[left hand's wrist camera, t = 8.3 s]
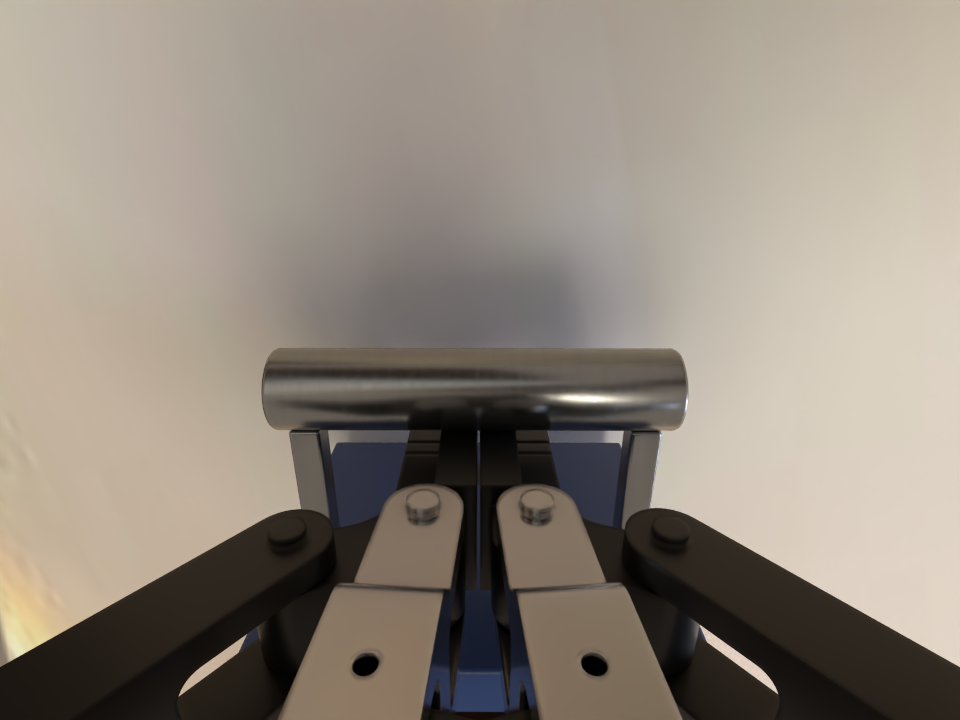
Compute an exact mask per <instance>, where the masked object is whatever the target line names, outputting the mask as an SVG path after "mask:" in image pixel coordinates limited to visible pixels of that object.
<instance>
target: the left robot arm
mask: <svg viewBox="0 0 960 720" xmlns="http://www.w3.org/2000/svg"><path fill="white" fill-rule="evenodd" d="M465 590H477V430H410V434H409V438H408V443H407V446H406V450H405V454H404V459H403V463H402V467H401V471H400V475H399V479H398V483H397V487H396V491H395V493H393V494H392V495H391V496H390V497H389V498H388V499H387V500H386V501H385V503H384V505H383V508H382V510H381V513H380V514H378V515H377V516H375V517H373V518H371V519H369V520H366V521H364V522H361V523H357V524H353V525H349V526H344V527H340V528H335V529H333V525H332V523H331V521H330V520H329V518H328V517H326V516H325V515H324V514H322V513H320V512H317V511H313V510H306V509H297V510H289V511H284V512H280V513H277V514H275V515H272V516H270V517H268V518H266V519H264V520H262V521H260V522H258V523H256V524H255V525H253V526H251V527H249V528H247V529H246V530H244V531H242V532H240V533H239V534H237V535H235V536H233V537H231V538H230V539H228V540H226V541H224V542H223V543H221V544H219V545H217V546H215V547H214V548H212V549H210V550H208V551H207V552H205V553H203V554H201V555H199V556H198V557H196V558H194V559H192V560H190V561H189V562H187V563H185V564H183V565H182V566H180V567H178V568H176V569H174V570H173V571H171V572H169V573H167V574H165V575H164V576H162V577H160V578H158V579H157V580H155V581H153V582H151V583H149V584H148V585H146V586H144V587H142V588H141V589H139V590H137V591H135V592H133V593H132V594H130V595H128V596H126V597H124V598H123V599H121V600H119V601H117V602H116V603H114V604H112V605H110V606H108V607H107V608H105V609H103V610H101V611H100V612H98V613H96V614H94V615H92V616H91V617H89V618H87V619H85V620H83V621H82V622H80V623H78V624H76V625H75V626H73V627H71V628H69V629H67V630H66V631H64V632H62V633H60V634H59V635H57V636H55V637H53V638H51V639H50V640H48V641H46V642H44V643H42V644H41V645H39V646H37V647H35V648H34V649H32V650H30V651H28V652H26V653H25V654H23V655H21V656H19V657H18V658H16V659H14V660H12V661H10V662H9V663H7V664H5V665H3V666H2V667H0V720H474V719H469V718H466V717H462V716H458V715H455V710H456V702H457V693H458V685H459V677H460V668H461V660H462V652H463V643H464V635H465ZM480 590H491V606H492V611H493V614H494V616H495V635H496V643H497V652H498V660H499V668H500V677H501V685H502V693H503V702H504V710H505V715H502V716H498V717H494V718H491V719H486V720H960V667H958V666H957V665H955V664H953V663H951V662H950V661H948V660H946V659H944V658H942V657H941V656H939V655H937V654H935V653H934V652H932V651H930V650H928V649H926V648H925V647H923V646H921V645H919V644H917V643H916V642H914V641H912V640H910V639H909V638H907V637H905V636H903V635H901V634H900V633H898V632H896V631H894V630H893V629H891V628H889V627H887V626H885V625H884V624H882V623H880V622H878V621H876V620H875V619H873V618H871V617H869V616H868V615H866V614H864V613H862V612H860V611H859V610H857V609H855V608H853V607H852V606H850V605H848V604H846V603H844V602H843V601H841V600H839V599H837V598H835V597H834V596H832V595H830V594H828V593H827V592H825V591H823V590H821V589H819V588H818V587H816V586H814V585H812V584H811V583H809V582H807V581H805V580H803V579H802V578H800V577H798V576H796V575H794V574H793V573H791V572H789V571H787V570H786V569H784V568H782V567H780V566H778V565H777V564H775V563H773V562H771V561H770V560H768V559H766V558H764V557H762V556H761V555H759V554H757V553H755V552H753V551H752V550H750V549H748V548H746V547H745V546H743V545H741V544H739V543H737V542H736V541H734V540H732V539H730V538H729V537H727V536H725V535H723V534H721V533H720V532H718V531H716V530H714V529H712V528H711V527H709V526H707V525H705V524H704V523H702V522H700V521H698V520H696V519H695V518H693V517H691V516H689V515H686V514H684V513H681V512H678V511H674V510H670V509H662V508H650V509H644V510H641V511H638V512H636V513H634V514H633V515H631V516H630V517H629V519H628V520H627V522H626V524H625V529H620V528H616V527H611V526H607V525H602V524H599V523H595V522H592V521H590V520H587V519H585V518H583V517H581V515H580V513H579V510H578V508H577V505H576V503H575V501H574V500H573V499H572V498H571V497H570V496H569V495H568V494H567V493H565V492H564V491H562V490H561V489H560V485H559V481H558V476H557V472H556V468H555V463H554V459H553V455H552V451H551V446H550V444H549V438H548V433H547V430H480ZM700 625H701V626H703V627H704V628H705V629H707V630H708V631H710V632H711V633H712V634H714V635H715V636H717V637H718V638H719V639H721V640H722V641H724V642H725V643H726V644H728V645H729V646H731V647H732V648H733V649H735V650H736V651H738V652H739V653H740V654H742V655H743V656H745V657H746V658H747V659H749V660H750V661H752V662H753V663H754V664H756V665H757V666H758V667H760V668H761V669H762V670H763V671H764V672H765V673H766V674H767V675H768V676H769V678H770V679H771V680H772V682H773V683H774V685H775V687H776V689H777V691H778V694H779V695H778V694H777V693H775V692H774V691H773V690H771V689H770V688H769V687H767V686H766V685H764V684H763V683H762V682H760V681H759V680H758V679H756V678H755V677H754V676H752V675H751V674H749V673H748V672H747V671H745V670H744V669H743V668H741V667H740V666H739V665H737V664H736V663H734V662H733V661H732V660H730V659H729V658H728V657H726V656H725V655H724V654H722V653H721V652H719V651H718V650H717V649H715V648H714V647H713V646H711V645H710V644H709V643H707V642H706V641H704V640H703V639H702V638H700V637H699V636H698V630H699V626H700ZM256 627H257V630H258V635H259V638H258V639H257V640H256V641H254V642H253V643H251V644H250V645H249V646H247V647H246V648H245V649H243V650H242V651H241V652H239V653H238V654H236V655H235V656H234V657H232V658H231V659H230V660H228V661H227V662H226V663H224V664H223V665H221V666H220V667H219V668H217V669H216V670H215V671H213V672H212V673H211V674H209V675H208V676H206V677H205V678H204V679H202V680H201V681H200V682H198V683H197V684H195V685H194V686H193V687H191V688H190V689H189V690H187V691H186V692H185V693H183V694H182V695H180V696H179V693H180V691H181V689H182V687H183V685H184V684H185V682H186V681H187V680H188V679H189V677H190V676H191V675H192V674H193V673H194V672H195V671H196V670H198V669H199V668H200V667H201V666H203V665H204V664H206V663H207V662H208V661H210V660H211V659H213V658H214V657H215V656H217V655H218V654H220V653H221V652H222V651H224V650H225V649H227V648H228V647H229V646H231V645H232V644H234V643H235V642H236V641H238V640H239V639H241V638H242V637H243V636H245V635H246V634H248V633H249V632H250V631H252V630H253V629H255V628H256ZM178 696H179V697H178Z"/></svg>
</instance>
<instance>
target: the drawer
mask: <svg viewBox="0 0 960 720" xmlns="http://www.w3.org/2000/svg"><path fill="white" fill-rule="evenodd" d="M262 404H263V409H264V414H265V417H266V419H267V421H268V423H269V425H270V426H271V427H272V428H274V429H277V430H290V433H289V435H290V442H291V448H292V454H293V460H294V467H295V473H296V479H297V485H298V492H299V498H300V504H301V509H306V510H313V511H317V512H320V513H322V514H324V515H325V516H326V517H328V518H329V520H330V521H331V523H332V525H333V529H335V528H340V527H344V526H349V525H353V524H357V523H361V522H364V521H366V520H369V519H371V518H373V517H375V516H377V515H378V514H380V513H381V510H382V508H383V505H384V503H385V501H386V500H387V499H388V498H389V497H390V496H391V495H392V494H393V493H395V491H396V487H397V483H398V479H399V475H400V471H401V467H402V463H403V459H404V454H405V450H406V446H407V443H337V444H336V446H335V448H334V450H333V452H332V454H331V451H330V444H329V436H328V430H566V431H624V433H623V442H622V448H621V446H620V444H619V443H549V444H550V446H551V451H552V455H553V459H554V463H555V468H556V472H557V476H558V481H559V485H560V489H561V490H562V491H564V492H565V493H567V494H568V495H569V496H570V497H571V498H572V499H573V500H574V501H575V503H576V505H577V508H578V510H579V513H580V515H581V517H583V518H585V519H587V520H590V521H592V522H595V523H599V524H602V525H607V526H611V527H616V528H620V529H625V524H626V522H627V520H628V519H629V517H630V516H631V515H633V514H634V513H636V512H638V511H641V510H644V509H650V507H651V500H652V494H653V487H654V481H655V474H656V467H657V461H658V454H659V448H660V441H661V432H660V431H673V430H676V429H678V428H679V427H680V426H681V424H682V423H683V421H684V418H685V415H686V410H687V404H688V379H687V373H686V368H685V364H684V361H683V359H682V357H681V355H680V354H679V353H678V352H677V351H676V350H674V349H586V348H279V349H276V350H274V351H273V352H272V353H271V354H270V356H269V357H268V359H267V362H266V365H265V368H264V373H263V379H262ZM698 636H699V637H700V638H702V639H703V640H704V641H706V639H705V637H704V634H703V632H702V630H701V628H700V626H699V630H698ZM258 638H259V635H258V630H257V627H256V628H255V629H253V630H252V631H250V632H249V633H248V634H247V636H246V638H245V640H244V642H243V644H242V647H241V649H240V651H239V652H241V651H242V650H243V649H245V648H246V647H247V646H249V645H250V644H251V643H253V642H254V641H256V640H257V639H258ZM706 642H707V641H706ZM455 715H458V716H462V717H466V718H469V719H474V720H486V719H491V718H494V717H498V716H502V715H505V710H504V702H503V693H502V685H501V677H500V668H499V660H498V652H497V643H496V635H495V616H494V614H493V611H492V606H491V590H480V443H477V590H465V635H464V643H463V652H462V660H461V668H460V677H459V685H458V693H457V702H456V710H455Z"/></svg>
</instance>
